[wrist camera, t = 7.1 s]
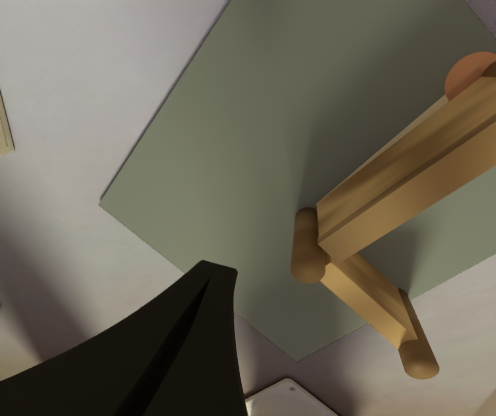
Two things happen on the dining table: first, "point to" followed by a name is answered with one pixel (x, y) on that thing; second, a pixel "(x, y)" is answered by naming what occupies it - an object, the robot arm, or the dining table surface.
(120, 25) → the dining table surface
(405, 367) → the fence fixed
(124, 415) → the robot arm
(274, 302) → the card
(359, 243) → the fence panel
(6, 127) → the supplement box
